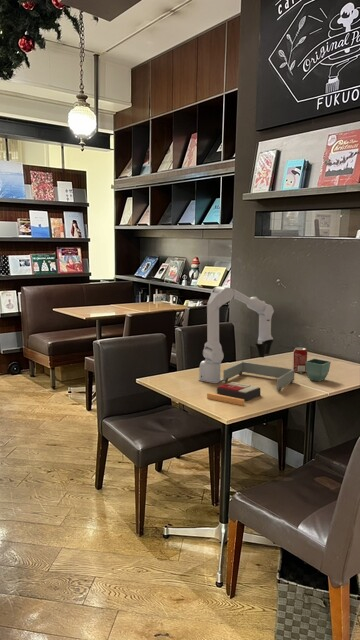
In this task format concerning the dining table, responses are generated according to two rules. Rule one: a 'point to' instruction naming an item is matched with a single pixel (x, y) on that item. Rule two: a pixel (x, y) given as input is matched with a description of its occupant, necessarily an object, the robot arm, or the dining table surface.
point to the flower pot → (317, 369)
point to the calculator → (239, 391)
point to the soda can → (299, 359)
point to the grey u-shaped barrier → (261, 372)
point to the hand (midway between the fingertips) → (264, 355)
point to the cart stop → (225, 398)
